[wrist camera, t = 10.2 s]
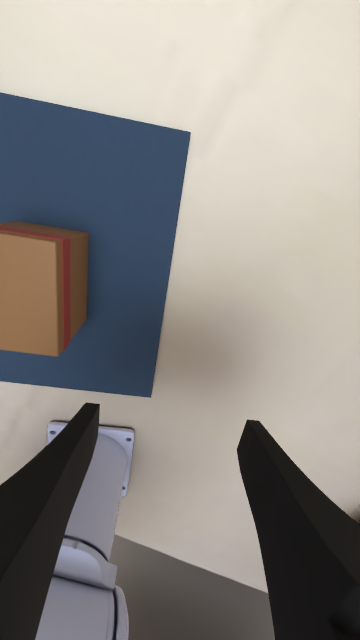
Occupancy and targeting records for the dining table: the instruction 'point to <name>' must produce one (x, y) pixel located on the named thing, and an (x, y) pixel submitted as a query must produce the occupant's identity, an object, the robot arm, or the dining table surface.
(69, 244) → the packet
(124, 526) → the dining table surface
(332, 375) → the dining table surface
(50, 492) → the robot arm
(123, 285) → the napkin
